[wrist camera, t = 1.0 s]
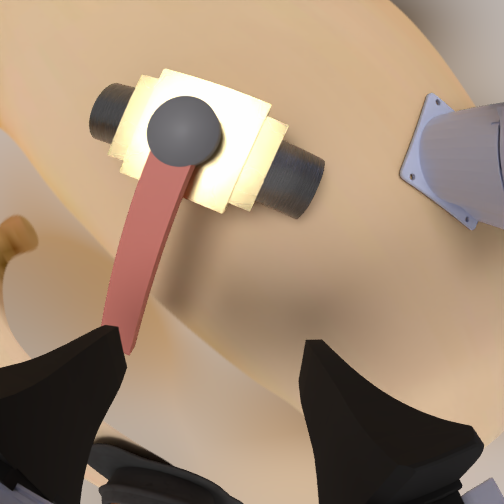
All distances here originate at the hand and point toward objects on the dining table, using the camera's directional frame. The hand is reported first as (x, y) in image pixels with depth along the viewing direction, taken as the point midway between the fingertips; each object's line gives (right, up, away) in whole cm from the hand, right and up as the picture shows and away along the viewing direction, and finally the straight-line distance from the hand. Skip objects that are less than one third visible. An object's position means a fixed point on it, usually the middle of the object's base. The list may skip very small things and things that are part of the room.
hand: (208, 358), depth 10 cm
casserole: (-11, -29, +19) cm, 37 cm away
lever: (-3, +5, +3) cm, 7 cm away
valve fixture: (-1, +11, +8) cm, 13 cm away
